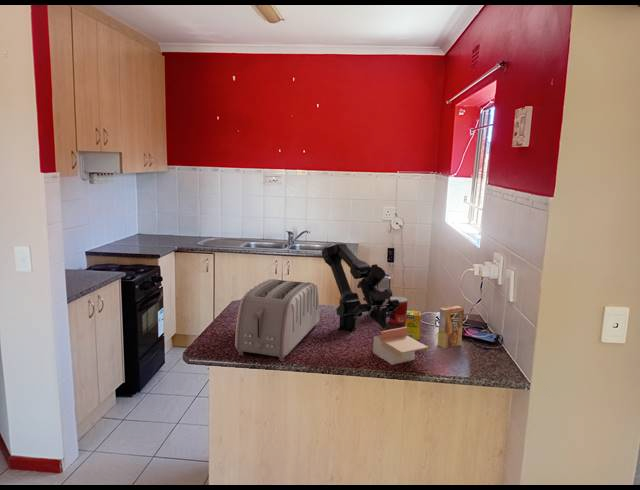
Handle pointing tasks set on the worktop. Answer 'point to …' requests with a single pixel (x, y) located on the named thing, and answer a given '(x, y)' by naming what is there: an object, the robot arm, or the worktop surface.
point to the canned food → (399, 312)
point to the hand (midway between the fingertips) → (385, 327)
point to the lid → (400, 342)
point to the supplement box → (413, 324)
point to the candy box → (450, 326)
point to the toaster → (276, 317)
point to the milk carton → (385, 286)
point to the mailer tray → (390, 353)
